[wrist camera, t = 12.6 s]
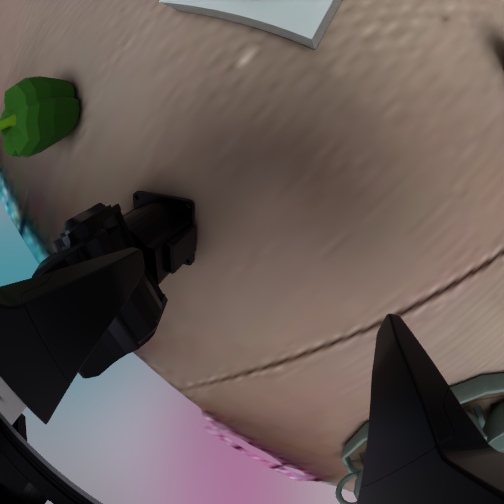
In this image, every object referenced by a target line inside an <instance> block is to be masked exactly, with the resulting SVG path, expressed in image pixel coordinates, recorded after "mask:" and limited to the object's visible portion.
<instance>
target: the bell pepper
mask: <svg viewBox="0 0 504 504" xmlns="http://www.w3.org/2000/svg"><path fill="white" fill-rule="evenodd" d="M74 95H75V91H74V88H73V85H72V84H71V83H69V82H68V81H64V80H60V79H54V78H47V77H40V76H39V77H30V78H25V79H23V80H22V81H20V82H19V83H17V84H16V85H14V86H13V87H11V88H10V89H8V90H7V91H6V92H5V100H4V103H5V110H4V111H3V113H2V116H1V119H0V132H1V134H2V136H3V138H4V152H6V153H8V154H10V155H12V156H18V157H20V156H23V157H30V156H32V155H35V154H37V153H40V152H42V151H43V150H45V149H47V148H48V147H50V146H51V145H53V144H55V143H56V142H58V141H59V140H61V139H62V138H64V137H65V136H67V135H68V134H69V133H70V131H71V130H72V129H73V127H74V126H75V124H76V122H77V121H78V115H79V110H80V108H79V102H78V100H77V99H75V98H74Z"/></svg>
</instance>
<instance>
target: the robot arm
mask: <svg viewBox="0 0 504 504" xmlns="http://www.w3.org/2000/svg"><path fill="white" fill-rule="evenodd" d="M137 195H138V196H139V198H138V196H137ZM133 204H134V209H133V210H131V211H129V212H128V213H126V214H125V215H122V213H121V211H120V210H121V208H120V206H119V204H116V205H114V206H112V207H111V205H109V206H107V207H106V206H105V205H103V204H102V203H99V204H97V205H95V206H93V207H91V208H90V209H88V210H86V211H84V212H82V213H80V214H78V215H77V216H75V217H73V218H71V219H69V220H68V221H66V222H65V225H64V229H63V233H61V234H60V235H59V238H58V239H57V240H56V241H55V242H53V243H52V246H53V248H54V250H55V253H53V254H52V255H50V256H49V257H48V258H46V259H45V260H43V261H42V262H41V263H40V264H39V266H38V268H37V269H36V271H35V273H34V274H33V276H32V278H30V279H27V280H23V281H20V282H16V283H12V284H9V285H5V286H1V287H0V504H45V503H46V501H47V500H49V501H51V502H52V503H53V504H102V503H101V502H99V501H98V500H96V499H95V498H93V497H92V496H90V495H89V494H88V493H86V492H85V491H83V490H82V489H81V488H79V487H78V486H77V485H75V484H74V483H73V482H71V481H70V480H69V479H68V478H66V477H65V476H64V475H62V474H61V473H60V472H59V471H58V470H57V469H55V468H54V467H53V466H52V465H51V464H50V463H48V462H47V461H46V460H45V459H44V458H43V457H42V456H41V455H40V454H39V453H38V452H37V451H35V449H34V448H32V447H31V446H30V445H29V444H28V443H27V435H26V423H25V416H24V415H23V414H22V412H23V411H24V409H25V408H26V407H28V408H29V409H30V410H31V411H32V412H33V413H34V414H35V415H36V416H37V417H38V418H39V419H40V420H41V421H43V422H44V423H45V424H47V423H48V421H49V420H50V418H51V416H52V415H53V413H54V411H55V409H56V407H57V406H58V404H59V403H60V401H61V399H62V397H63V396H64V394H65V393H66V391H67V389H68V388H69V386H70V383H72V381H73V379H74V378H75V376H76V375H77V373H79V374H80V375H81V376H82V377H83V378H91V377H96V376H99V375H100V374H101V373H102V372H104V371H105V370H106V369H107V368H108V367H109V366H110V365H112V364H113V363H114V362H116V361H117V360H118V359H120V358H122V357H123V356H125V355H126V354H128V353H131V352H133V351H135V350H137V349H139V348H140V347H141V346H142V345H144V344H145V343H146V342H148V341H149V340H150V339H151V337H152V336H153V335H154V333H155V331H156V329H157V326H158V324H159V321H160V319H161V316H162V313H163V311H164V308H165V306H166V303H167V301H168V299H167V298H166V296H165V294H163V293H162V291H161V289H160V288H159V286H158V285H159V284H160V283H161V282H162V280H163V279H164V278H165V277H166V276H167V275H168V274H169V273H171V274H173V273H175V272H176V271H177V270H178V269H179V268H180V267H181V266H182V264H185V265H191V264H192V263H193V262H194V252H195V250H196V226H195V224H194V203H193V202H192V201H191V200H188V199H183V198H177V197H172V196H166V195H160V194H154V193H149V192H142V191H137V192H135V193H134V194H133ZM187 204H188V205H189V206H190V208H189V207H187ZM188 259H189V260H190V261H189V260H188ZM357 504H504V453H502V452H499V451H497V450H496V449H494V448H493V447H492V446H491V445H490V444H489V443H488V442H487V441H486V439H485V438H484V436H483V435H482V433H481V432H480V431H479V429H478V428H477V426H476V425H475V424H474V422H473V421H472V419H471V418H470V417H469V415H468V414H467V412H466V411H465V410H464V408H463V407H462V405H461V404H460V402H459V401H458V399H457V398H456V396H455V395H454V393H453V391H452V390H451V388H449V385H448V384H447V382H446V381H445V379H444V378H443V376H442V375H441V373H440V372H439V370H438V369H437V367H436V366H435V364H434V363H433V361H432V360H431V359H430V357H429V356H428V354H427V353H426V351H425V350H424V349H423V347H422V346H421V344H420V343H419V342H418V340H417V339H416V337H415V336H414V335H413V333H412V332H411V331H410V329H409V328H408V327H407V325H406V324H405V323H404V321H403V320H402V319H401V317H400V316H399V315H395V314H387V316H386V317H385V319H384V321H383V323H382V325H381V327H380V328H379V330H378V333H377V338H376V347H375V355H374V363H373V370H372V381H371V401H370V416H369V427H368V437H367V446H366V453H365V461H364V467H363V474H362V480H361V485H360V490H359V495H358V500H357Z"/></svg>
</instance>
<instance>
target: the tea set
mask: <svg viewBox="0 0 504 504" xmlns="http://www.w3.org/2000/svg"><path fill="white" fill-rule="evenodd" d="M449 388H451V390H452V391H453V393H454V395H455V396H456V398H457V399H458V401H459V402H460V404H461V405H462V407H463V408H464V410H465V411H466V412H467V414H468V415H469V417H470V418H471V419H472V421H473V422H474V424H475V425H476V426H477V428H478V429H479V431H480V432H481V433H482V435H483V436H484V438H485V439H486V441H487V442H488V443H489V444H490V445H491V446H492V447H493V448H494V449H496V450H497V451H499V452H502V453H504V373H499V374H490V375H481V376H478V377H476V378H473V379H471V380H468V381H466V382H463V383H460V384H458V385H455V386H452V387H449ZM368 427H369V422H367V423H365V425H364V426H363V427H362V428H361V429H360V430H359V431H358V432H357V433H356V434H355V435H354V436H353V437H352V439H351V440H350V441H349V442H348V443H347V444H346V445H345V447H344V448H343V450H342V456H341V459H342V461H343V462H344V464H345V466H346V468H347V470H348V472H350V473H351V474H348V475H346V476H345V477H344V478H343V479H342V480H341V481H340V482H339V484H338V485H337V488H336V498H337V499H338V501H339V502H340V504H357V502H355V503H350V502H347V501H345V500H344V499H343V497H342V494H341V491H342V487H343V486H344V484H345V483H346V482H347V481H348V480H349V479H351V478H353V477H356V476H358V477H357V479H356V481H355V488H354V495H355V497H356V498H357V500H358V495H359V490H360V485H361V480H362V474H363V467H364V461H365V453H366V446H367V437H368Z"/></svg>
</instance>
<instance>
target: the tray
mask: <svg viewBox="0 0 504 504" xmlns="http://www.w3.org/2000/svg"><path fill="white" fill-rule="evenodd" d="M159 2H160V3H163V4H165V5H167V6H170V7H172V8H174V9H177V10H179V11H184V12H190V13H196V14H201V15H207V16H212V17H216V18H221V19H225V20H229V21H233V22H237V23H241V24H244V25H248V26H251V27H255V28H258V29H261V30H264V31H267V32H270V33H273V34H276V35H279V36H282V37H285V38H287V39H290V40H293V41H295V42H298V43H300V44H303V45H305V46H308V47H310V48H312V49H315V50H316V48H317V46H318V44H319V42H320V40H321V38H322V36H323V34H324V33H325V31H326V29H327V27H328V25H329V23H330V22H331V20H332V18H333V16H334V14H335V12H336V11H337V9H338V7H339V5H340V3H341V2H342V0H160V1H159Z"/></svg>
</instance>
